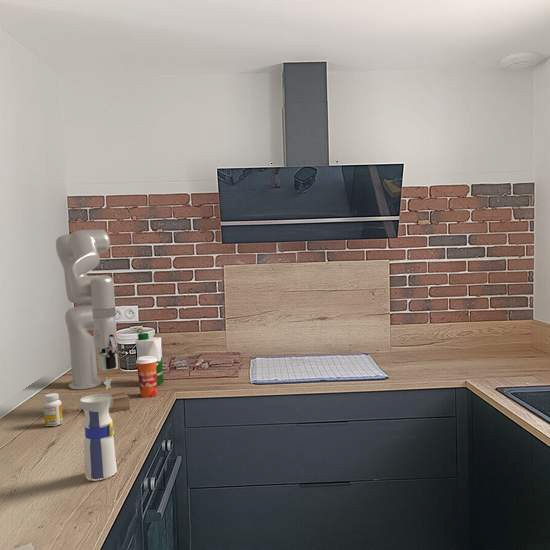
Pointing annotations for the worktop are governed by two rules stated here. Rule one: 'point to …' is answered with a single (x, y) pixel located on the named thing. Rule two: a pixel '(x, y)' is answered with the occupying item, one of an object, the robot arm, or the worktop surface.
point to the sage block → (104, 362)
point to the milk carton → (151, 352)
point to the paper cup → (147, 375)
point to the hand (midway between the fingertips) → (108, 366)
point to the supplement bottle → (53, 409)
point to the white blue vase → (98, 435)
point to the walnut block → (119, 401)
